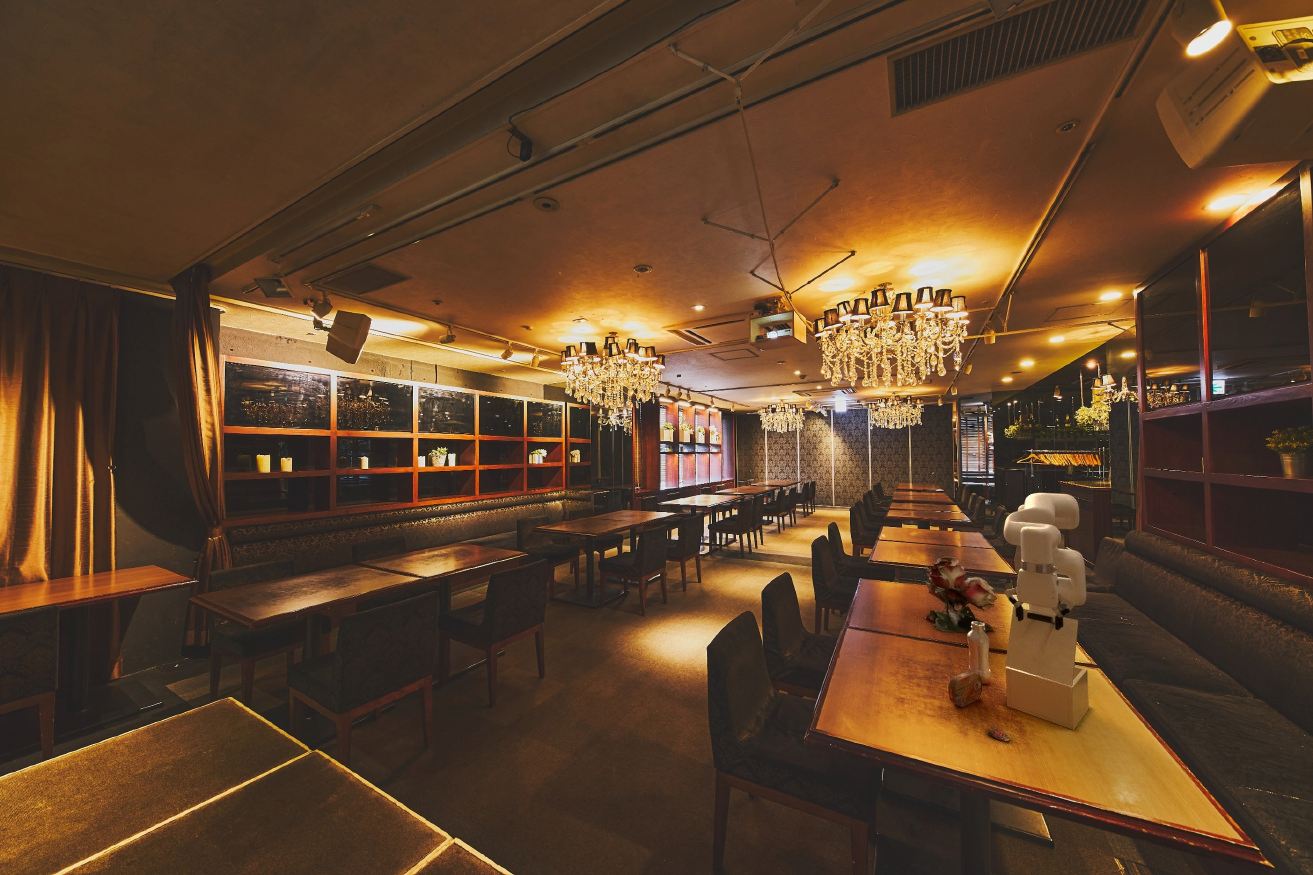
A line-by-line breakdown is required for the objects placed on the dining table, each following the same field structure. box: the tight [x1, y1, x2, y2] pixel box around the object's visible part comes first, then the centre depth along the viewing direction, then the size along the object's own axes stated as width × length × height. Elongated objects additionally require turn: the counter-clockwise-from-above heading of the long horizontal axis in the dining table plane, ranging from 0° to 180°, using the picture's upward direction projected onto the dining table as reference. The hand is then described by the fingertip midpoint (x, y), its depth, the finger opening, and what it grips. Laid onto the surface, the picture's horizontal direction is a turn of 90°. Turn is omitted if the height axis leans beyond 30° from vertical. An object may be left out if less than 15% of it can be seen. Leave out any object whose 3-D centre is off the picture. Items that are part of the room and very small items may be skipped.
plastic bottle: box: [966, 622, 992, 685], centre depth 162 cm, size 6×7×20 cm
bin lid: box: [1005, 606, 1079, 686], centre depth 142 cm, size 19×16×5 cm
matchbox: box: [987, 728, 1010, 742], centre depth 132 cm, size 5×5×1 cm
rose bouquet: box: [923, 555, 998, 633], centre depth 218 cm, size 26×29×30 cm
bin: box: [1005, 665, 1090, 731], centre depth 146 cm, size 18×16×12 cm
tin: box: [947, 670, 984, 708], centre depth 150 cm, size 15×3×8 cm, turn 117°
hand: (1039, 624), depth 143 cm, fingers open, 8 cm apart
